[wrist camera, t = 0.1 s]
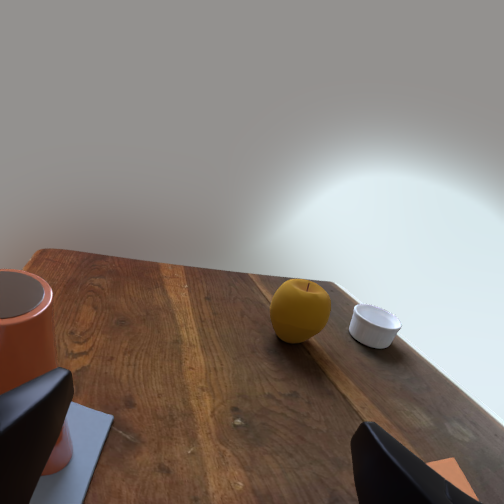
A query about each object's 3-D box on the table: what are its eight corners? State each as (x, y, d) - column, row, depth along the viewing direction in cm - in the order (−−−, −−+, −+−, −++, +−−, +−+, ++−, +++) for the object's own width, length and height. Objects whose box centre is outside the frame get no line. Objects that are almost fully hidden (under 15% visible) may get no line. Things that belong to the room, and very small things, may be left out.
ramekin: (351, 319, 56) (359, 298, 55) (393, 336, 52) (403, 316, 51) (340, 337, 48) (350, 314, 47) (389, 357, 45) (401, 334, 44)
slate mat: (74, 530, 11) (73, 528, 11) (-39, 468, 10) (-41, 465, 10) (113, 418, 23) (113, 415, 23) (20, 382, 22) (19, 379, 22)
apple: (326, 357, 42) (348, 301, 39) (268, 352, 40) (287, 292, 38) (308, 326, 50) (326, 276, 47) (258, 319, 48) (273, 266, 46)
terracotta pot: (58, 488, 14) (12, 339, 10) (-9, 453, 13) (-66, 297, 9) (83, 432, 20) (71, 284, 16) (21, 406, 19) (-3, 259, 15)
